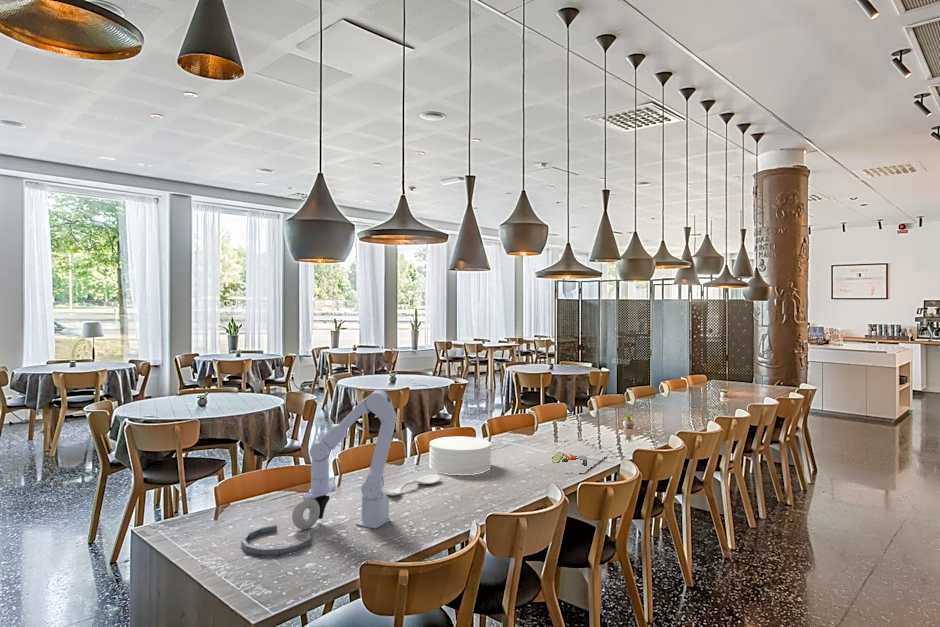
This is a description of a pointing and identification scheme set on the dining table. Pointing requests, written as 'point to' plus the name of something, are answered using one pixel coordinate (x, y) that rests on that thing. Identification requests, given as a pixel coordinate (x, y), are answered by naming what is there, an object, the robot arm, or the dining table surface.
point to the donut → (299, 510)
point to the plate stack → (460, 455)
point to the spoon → (423, 480)
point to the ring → (271, 551)
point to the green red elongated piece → (560, 455)
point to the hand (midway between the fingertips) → (319, 518)
